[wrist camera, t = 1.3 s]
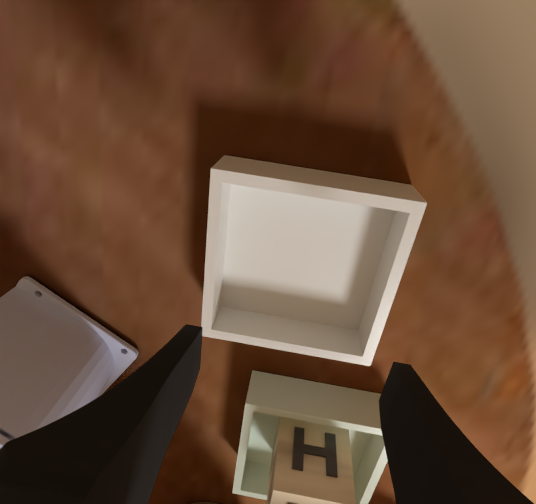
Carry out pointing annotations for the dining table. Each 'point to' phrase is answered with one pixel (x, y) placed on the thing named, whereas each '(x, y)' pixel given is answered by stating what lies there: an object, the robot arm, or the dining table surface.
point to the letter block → (310, 464)
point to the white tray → (304, 257)
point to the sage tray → (311, 410)
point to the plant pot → (204, 503)
